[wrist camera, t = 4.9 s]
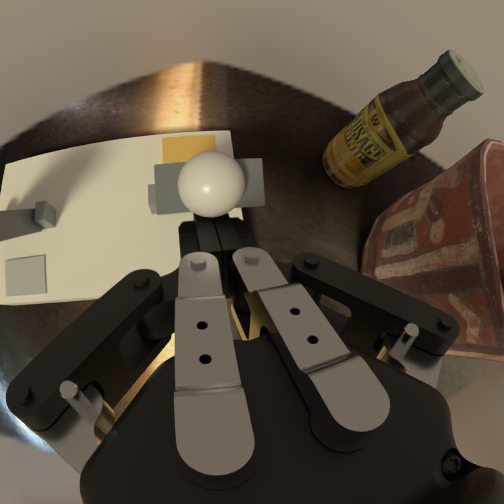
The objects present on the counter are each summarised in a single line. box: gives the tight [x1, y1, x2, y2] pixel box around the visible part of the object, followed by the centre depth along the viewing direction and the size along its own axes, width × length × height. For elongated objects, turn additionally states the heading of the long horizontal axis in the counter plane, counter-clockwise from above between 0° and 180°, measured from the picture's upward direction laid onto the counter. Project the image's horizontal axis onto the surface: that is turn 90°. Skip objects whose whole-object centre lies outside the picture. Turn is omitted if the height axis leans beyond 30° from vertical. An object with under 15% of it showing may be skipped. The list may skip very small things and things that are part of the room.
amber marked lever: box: [154, 151, 265, 217], centre depth 16 cm, size 3×4×14 cm, turn 99°
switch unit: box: [0, 130, 243, 305], centre depth 21 cm, size 14×24×5 cm, turn 99°
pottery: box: [360, 139, 504, 363], centre depth 21 cm, size 18×18×18 cm
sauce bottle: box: [322, 50, 484, 189], centre depth 21 cm, size 7×6×20 cm
